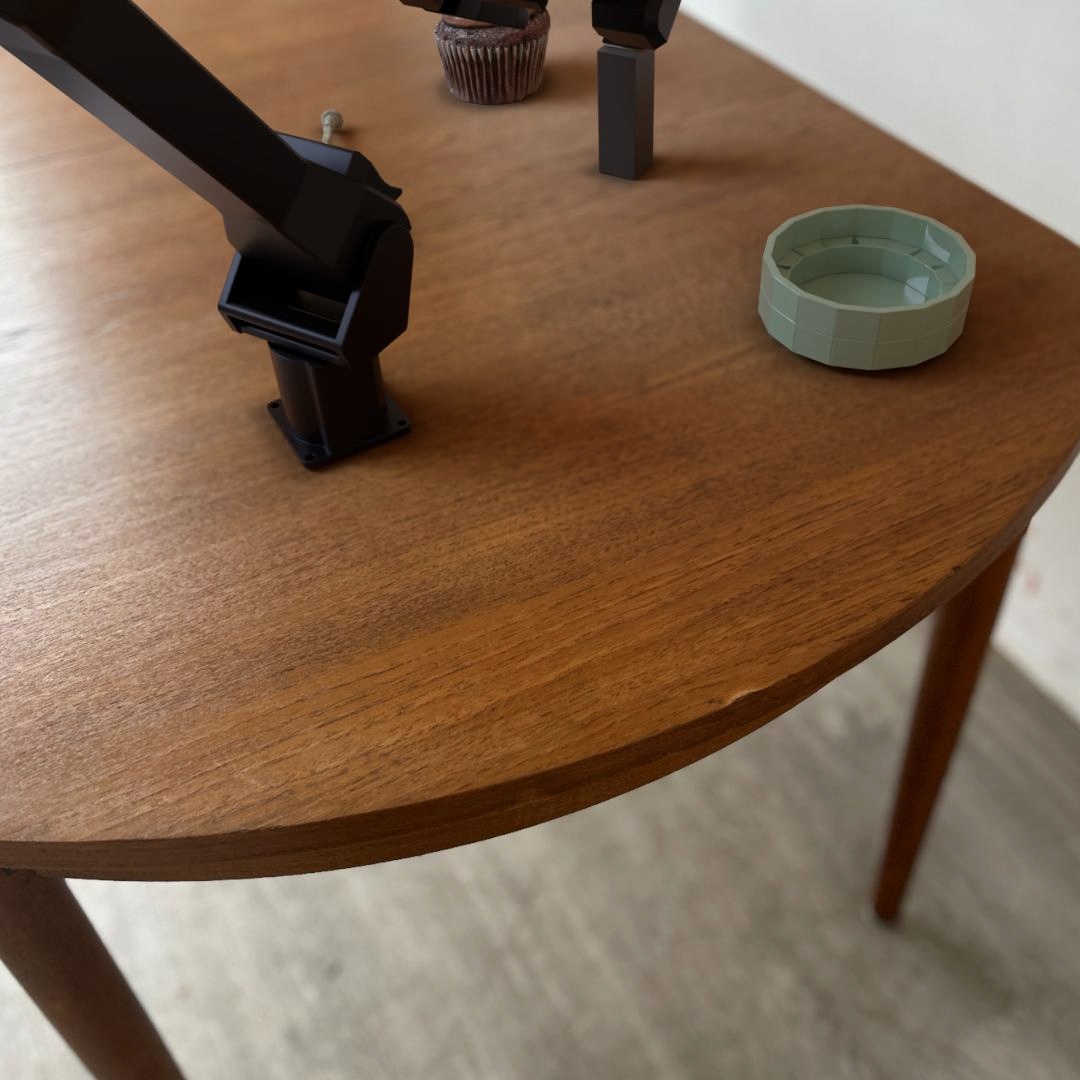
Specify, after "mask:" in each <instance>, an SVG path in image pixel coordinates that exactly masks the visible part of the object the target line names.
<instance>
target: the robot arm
mask: <svg viewBox="0 0 1080 1080" xmlns="http://www.w3.org/2000/svg"><path fill="white" fill-rule="evenodd" d="M398 1H399V2H400V3H401V4H402V5H403V6H406V7H413V8H418V9H422V10H423V11H425V12H428V13H432V14H433V13H434V14H439V15H442V14H443V15H448V16H453V17H458V18H463V19H468V20H473V21H478V22H484V23H489V24H494V25H499V26H504V27H509V28H514V29H519V30H525V29H526V27H527V24H528V21H529V18H530V14H529V12H528V10H527V9H533V10H539V11H545V8H546V9H547V7H548V4H549V0H398ZM547 3H548V4H547ZM681 3H682V0H591V5H590V6H591V8H590V9H591V27H592V28H593V30H594V31H595V32H596V34H597V35H598V36H599V37H602V41H601V42H602V44H604V45H605V44H608V45H613V46H618V47H622V48H627V49H631V50H635V51H640V52H645V53H648V52H649V51H650V50H655V51H656V50H658V49H660V48H661V47H663V46H664V45H665V44H667V43H668V41H669V38H670V35H671V32H672V29H673V27H674V24H675V20H676V19H677V15H678V12H679V9H680V6H681ZM0 47H1V48H3V49H4V50H5V51H7V52H8V53H9V54H10V55H12V56H13V57H15V58H16V59H17V60H19V61H20V62H21V63H23V64H24V65H25V66H27V67H28V68H29V69H30V70H32V71H33V72H35V74H37V75H39V76H40V77H41V78H42V79H44V80H45V81H46V82H48V83H49V84H50V85H52V86H53V87H54V88H56V89H57V90H58V91H60V92H61V93H62V94H64V95H65V96H66V97H68V98H69V99H70V100H72V101H73V102H74V103H76V105H79V107H81V108H82V109H84V110H85V111H86V112H87V113H89V114H90V115H92V116H93V117H94V118H96V119H97V120H98V121H100V122H101V123H102V124H104V125H105V126H106V127H107V128H109V129H110V130H112V132H114V133H115V134H117V135H118V136H120V137H121V138H122V139H123V140H125V141H126V142H127V143H129V144H130V145H131V146H132V147H134V148H135V149H137V151H139V152H141V153H142V154H143V155H144V156H146V157H147V158H148V159H150V160H151V161H153V162H154V163H156V164H157V165H158V166H159V167H161V168H162V169H163V170H165V171H166V172H167V173H169V174H170V175H171V176H172V177H174V178H175V179H176V180H178V181H179V182H181V183H182V184H183V185H185V186H186V187H187V188H189V190H191V191H193V192H194V193H195V194H196V195H198V196H199V197H201V198H202V199H203V200H204V201H206V202H207V203H208V204H209V205H211V206H212V207H214V208H215V209H216V210H217V211H218V212H219V213H220V215H221V219H222V223H223V227H224V233H225V236H226V240H227V241H228V243H229V244H230V245H231V246H232V248H234V250H235V251H234V254H233V258H232V261H231V263H230V267H229V268H228V269H229V270H228V272H227V276H226V278H225V281H224V283H223V284H224V285H223V288H222V290H221V293H220V296H219V299H218V302H217V312H218V313H219V314H220V316H221V317H222V318H223V320H224V322H226V324H227V326H228V327H229V328H230V329H231V331H232V332H234V333H237V334H241V335H242V334H246V335H249V336H251V337H254V338H257V339H260V340H264V341H266V343H267V347H268V351H269V355H270V359H271V363H272V367H273V372H274V375H275V380H276V384H277V388H278V392H279V395H280V398H277V399H275V400H272V401H270V402H269V403H267V405H266V410H267V413H268V415H269V418H271V421H272V422H273V423H274V424H275V426H276V427H277V429H278V431H279V432H280V434H281V436H282V437H283V439H284V440H285V441H286V443H287V444H288V446H289V447H290V449H291V450H292V452H293V454H294V455H295V457H296V458H297V459H298V461H299V462H300V464H301V465H302V467H303V468H304V469H307V470H313V469H316V468H320V467H322V466H324V465H326V464H329V463H332V462H336V461H338V460H339V459H343V458H345V457H348V456H350V455H353V454H356V453H358V452H362V451H364V450H366V449H370V448H372V447H375V446H377V445H380V444H383V443H385V442H388V441H390V440H393V439H396V438H398V437H401V436H404V435H407V434H408V433H410V432H411V431H412V422H411V420H410V418H409V417H408V416H407V415H406V413H405V412H404V411H403V410H402V408H401V407H400V406H399V405H398V403H397V402H396V401H395V400H394V398H393V397H392V396H391V395H390V393H389V392H388V391H387V390H386V388H385V384H384V379H383V373H382V372H383V371H382V366H381V360H380V354H381V353H382V352H383V351H384V350H386V349H387V348H388V347H389V346H390V345H391V344H392V343H393V342H394V341H396V340H397V339H398V338H399V337H400V336H402V335H403V334H404V333H405V332H406V331H407V329H408V325H409V315H410V304H411V294H412V293H411V291H412V280H413V271H414V270H413V269H414V258H415V246H414V240H413V235H412V234H411V231H412V224H411V221H410V218H409V215H408V214H407V212H406V210H405V209H404V208H403V205H401V203H399V202H397V200H398V199H399V198H400V197H401V196H402V195H403V188H401V187H397V186H393V185H391V184H389V183H387V182H386V181H385V180H384V179H383V178H382V176H381V175H380V173H379V172H378V170H377V168H376V167H375V165H374V164H373V163H372V162H371V160H370V159H368V158H367V157H366V156H365V155H364V154H363V153H362V152H361V151H359V150H355V149H353V148H352V149H351V148H347V147H343V146H339V145H335V144H332V143H331V144H327V143H323V142H322V141H320V140H319V141H318V140H315V139H312V138H311V139H310V138H307V137H302V136H298V135H295V134H290V133H286V132H283V131H278V130H274V129H273V128H272V127H270V125H268V124H267V123H266V122H265V121H264V120H263V119H262V118H261V117H259V116H258V114H257V113H255V111H253V110H252V109H251V108H250V107H249V106H248V105H247V104H246V103H244V102H243V100H241V99H240V98H239V97H238V96H237V95H236V94H235V93H233V92H232V90H230V89H229V87H227V86H226V85H225V83H223V82H222V81H221V80H219V78H217V77H216V76H215V75H214V74H213V73H212V72H210V70H209V69H208V68H206V67H205V66H204V65H203V64H202V63H201V62H200V61H199V60H198V59H197V58H195V57H194V56H193V54H191V53H190V52H189V51H188V50H187V49H186V48H185V47H183V46H182V45H181V44H180V43H179V42H178V41H177V40H176V39H175V38H173V36H172V35H170V34H169V33H168V31H166V30H165V29H164V28H163V27H162V26H160V24H158V23H157V22H156V21H155V20H154V19H153V18H152V17H151V16H150V15H149V14H148V13H147V12H145V10H143V9H142V8H141V7H140V6H139V5H138V4H137V3H136V2H135V1H133V0H0Z"/></svg>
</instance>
